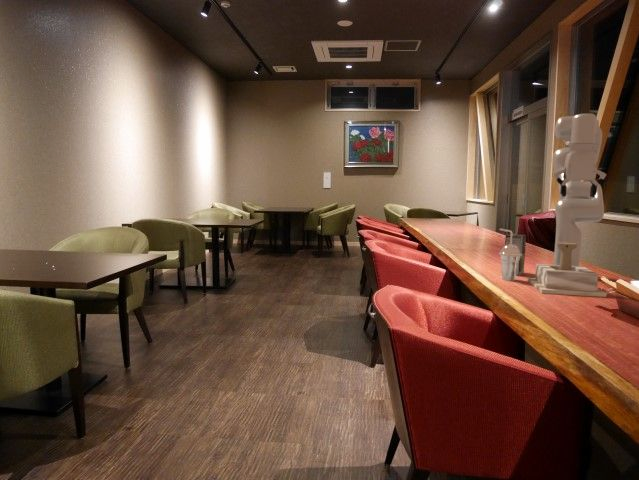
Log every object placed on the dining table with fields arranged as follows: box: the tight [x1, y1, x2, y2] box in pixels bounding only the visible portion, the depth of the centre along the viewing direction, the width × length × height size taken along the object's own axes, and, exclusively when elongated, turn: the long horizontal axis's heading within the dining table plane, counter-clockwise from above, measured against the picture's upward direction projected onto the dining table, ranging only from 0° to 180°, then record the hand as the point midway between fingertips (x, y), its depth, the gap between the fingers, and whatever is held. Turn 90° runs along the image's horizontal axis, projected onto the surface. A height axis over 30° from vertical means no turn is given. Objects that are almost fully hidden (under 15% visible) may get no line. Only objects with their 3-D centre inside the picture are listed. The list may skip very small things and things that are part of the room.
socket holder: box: [527, 263, 607, 298], centre depth 173 cm, size 22×20×7 cm
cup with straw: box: [498, 228, 522, 282], centre depth 188 cm, size 8×9×20 cm
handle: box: [557, 242, 577, 271], centre depth 173 cm, size 5×6×15 cm
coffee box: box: [504, 233, 527, 276], centre depth 202 cm, size 9×6×16 cm
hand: (577, 196), depth 178 cm, fingers open, 9 cm apart
